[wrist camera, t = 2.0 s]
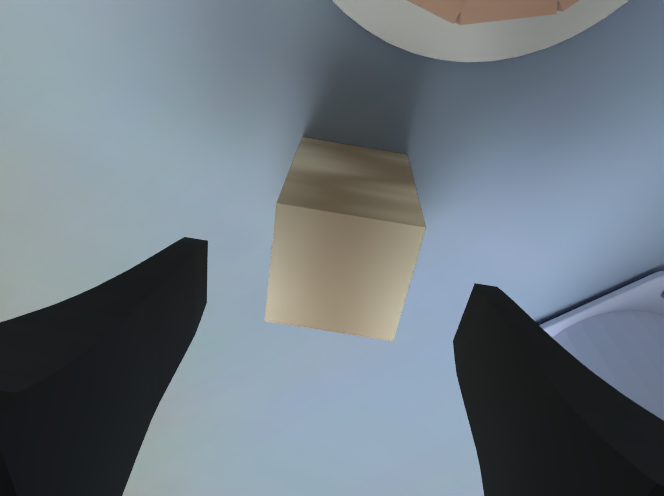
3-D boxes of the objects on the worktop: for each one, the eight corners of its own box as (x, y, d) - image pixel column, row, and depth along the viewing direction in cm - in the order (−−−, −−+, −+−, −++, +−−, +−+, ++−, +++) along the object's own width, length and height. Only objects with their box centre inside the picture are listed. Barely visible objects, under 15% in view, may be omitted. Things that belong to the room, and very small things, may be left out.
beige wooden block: (407, 154, 17) (426, 227, 12) (384, 245, 19) (393, 341, 14) (302, 136, 17) (276, 203, 12) (290, 229, 19) (264, 321, 14)
